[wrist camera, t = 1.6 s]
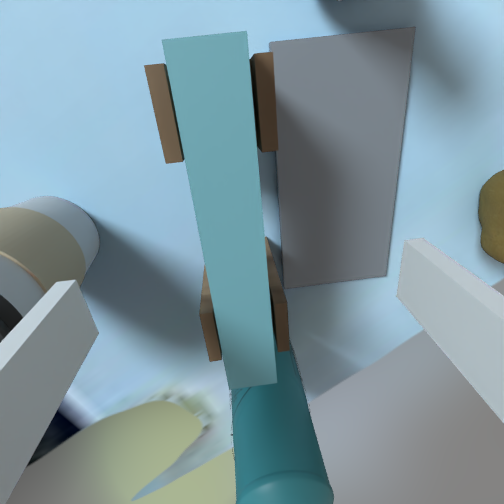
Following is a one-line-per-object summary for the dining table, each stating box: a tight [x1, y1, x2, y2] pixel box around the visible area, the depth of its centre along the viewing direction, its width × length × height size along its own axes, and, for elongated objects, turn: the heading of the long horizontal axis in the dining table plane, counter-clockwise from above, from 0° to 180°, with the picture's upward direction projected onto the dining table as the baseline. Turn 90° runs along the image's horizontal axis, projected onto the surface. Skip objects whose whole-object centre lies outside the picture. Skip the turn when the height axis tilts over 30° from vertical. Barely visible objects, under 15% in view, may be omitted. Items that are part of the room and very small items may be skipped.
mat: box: [269, 27, 415, 289], centre depth 26 cm, size 10×20×1 cm, turn 6°
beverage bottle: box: [230, 332, 334, 504], centre depth 24 cm, size 6×7×20 cm
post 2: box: [199, 237, 290, 362], centre depth 24 cm, size 5×4×10 cm
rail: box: [162, 31, 277, 390], centre depth 17 cm, size 3×18×4 cm, turn 6°
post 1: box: [144, 52, 279, 164], centre depth 18 cm, size 5×4×10 cm
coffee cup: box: [0, 196, 100, 343], centre depth 19 cm, size 9×9×15 cm
